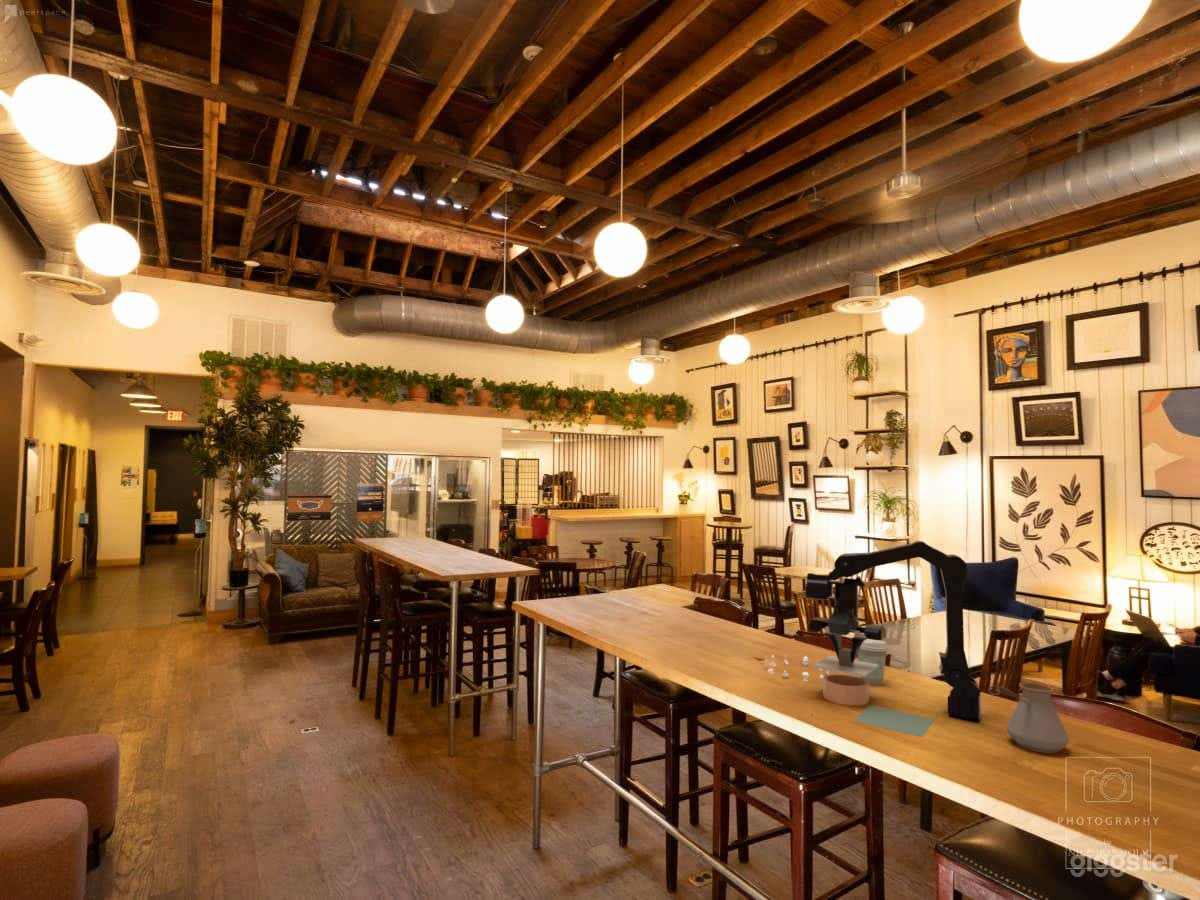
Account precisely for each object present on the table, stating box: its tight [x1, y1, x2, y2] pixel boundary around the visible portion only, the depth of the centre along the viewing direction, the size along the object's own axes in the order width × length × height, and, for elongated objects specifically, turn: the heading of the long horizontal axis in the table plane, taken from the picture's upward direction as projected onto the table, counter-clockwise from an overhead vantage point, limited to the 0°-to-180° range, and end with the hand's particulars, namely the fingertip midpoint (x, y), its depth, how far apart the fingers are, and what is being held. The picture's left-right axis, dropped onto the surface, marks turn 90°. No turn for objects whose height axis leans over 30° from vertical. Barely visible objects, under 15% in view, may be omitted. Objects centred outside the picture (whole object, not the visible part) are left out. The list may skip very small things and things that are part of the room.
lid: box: [813, 647, 878, 677], centre depth 171 cm, size 13×13×5 cm
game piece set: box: [764, 654, 831, 682], centre depth 197 cm, size 19×20×4 cm
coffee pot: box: [988, 682, 1070, 754], centre depth 141 cm, size 21×12×15 cm, turn 117°
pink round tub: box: [822, 673, 870, 707], centre depth 171 cm, size 11×11×5 cm
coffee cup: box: [857, 639, 889, 687], centre depth 188 cm, size 8×8×12 cm
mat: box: [853, 705, 936, 738], centre depth 155 cm, size 15×15×1 cm
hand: (846, 661), depth 171 cm, fingers closed on lid, 3 cm apart
